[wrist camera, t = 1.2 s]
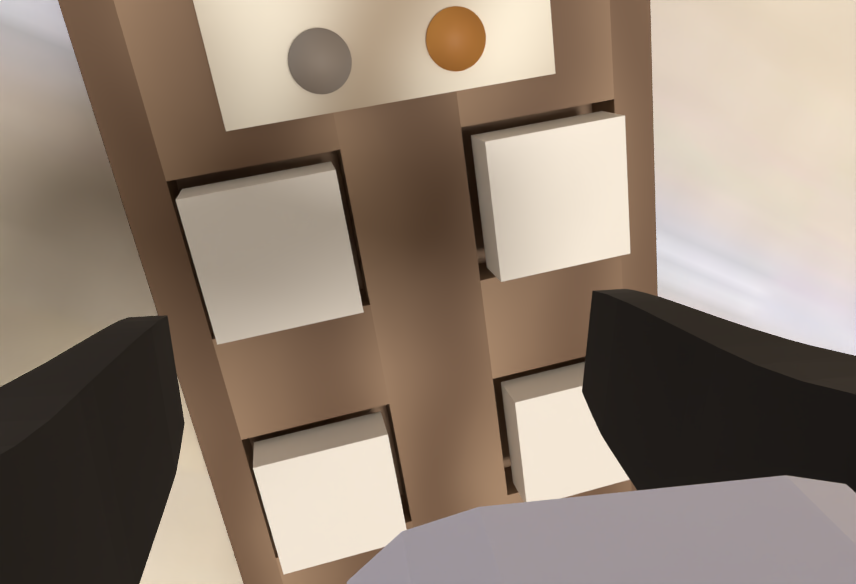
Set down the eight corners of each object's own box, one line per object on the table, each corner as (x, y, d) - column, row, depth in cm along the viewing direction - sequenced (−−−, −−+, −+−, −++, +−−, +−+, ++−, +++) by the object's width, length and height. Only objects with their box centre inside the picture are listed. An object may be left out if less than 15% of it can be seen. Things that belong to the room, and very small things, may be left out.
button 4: (486, 267, 21) (501, 282, 20) (470, 135, 19) (484, 141, 18) (608, 241, 21) (630, 253, 20) (601, 111, 20) (624, 115, 19)
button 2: (513, 482, 24) (527, 507, 22) (500, 382, 22) (514, 402, 21) (619, 453, 24) (639, 476, 23) (614, 354, 23) (635, 372, 22)
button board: (271, 597, 27) (271, 680, 24) (67, -78, 18) (20, -108, 15) (620, 500, 29) (668, 561, 26) (586, -144, 21) (652, -182, 17)
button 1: (282, 544, 23) (283, 574, 21) (253, 442, 21) (252, 468, 20) (400, 512, 23) (408, 540, 22) (380, 411, 22) (388, 434, 20)
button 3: (220, 324, 20) (217, 344, 18) (181, 188, 18) (175, 199, 17) (357, 295, 20) (363, 312, 19) (330, 161, 19) (335, 170, 17)
